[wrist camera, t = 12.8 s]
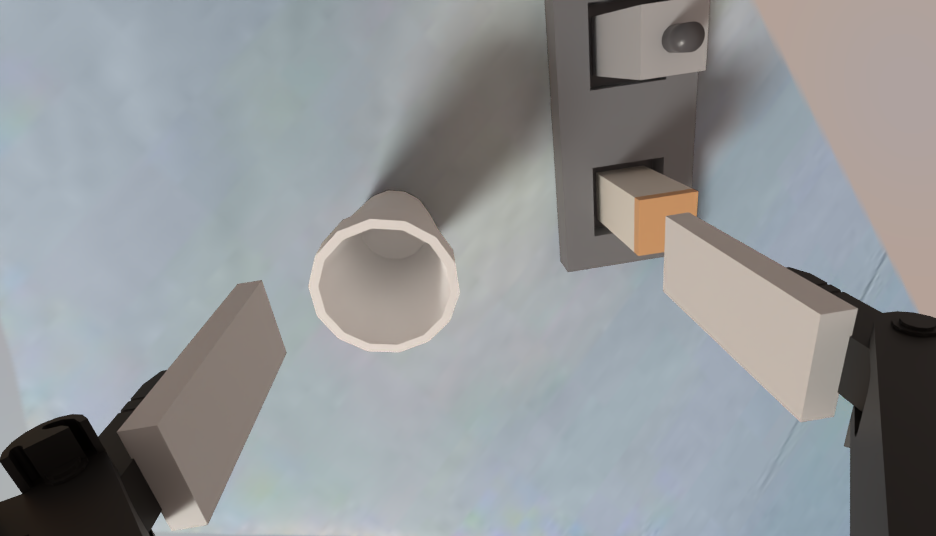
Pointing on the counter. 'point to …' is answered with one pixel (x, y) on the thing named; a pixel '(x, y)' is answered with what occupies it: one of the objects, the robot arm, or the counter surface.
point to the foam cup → (385, 276)
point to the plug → (641, 205)
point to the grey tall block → (651, 40)
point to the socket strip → (608, 130)
